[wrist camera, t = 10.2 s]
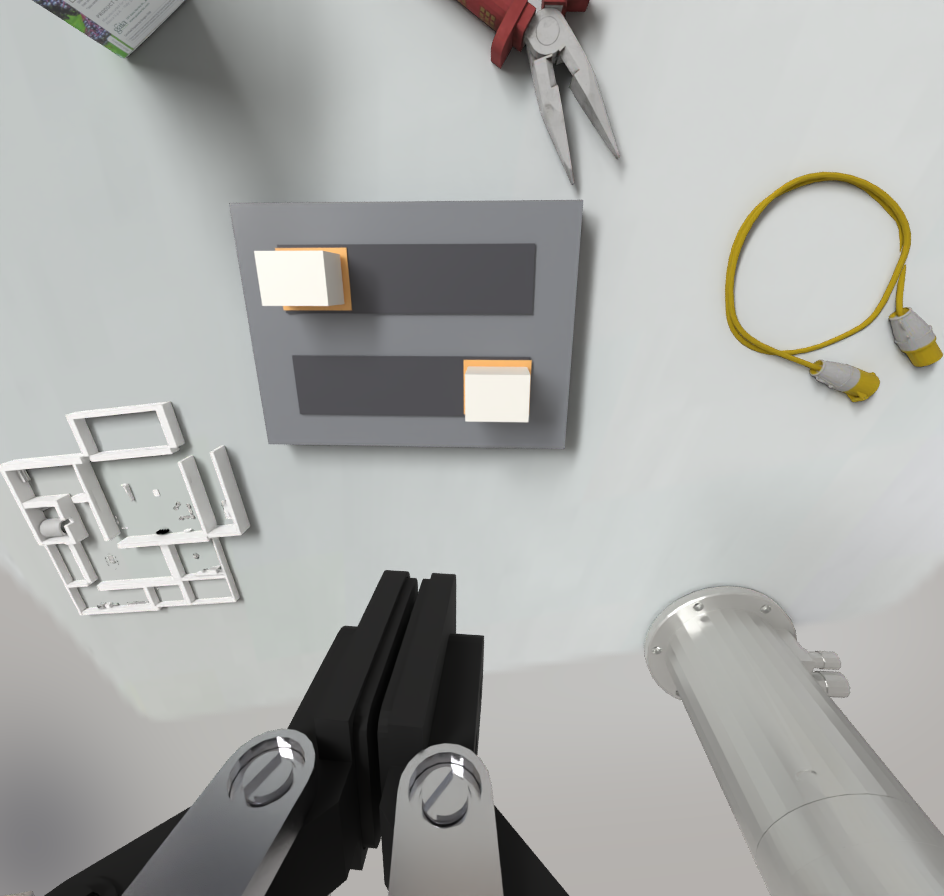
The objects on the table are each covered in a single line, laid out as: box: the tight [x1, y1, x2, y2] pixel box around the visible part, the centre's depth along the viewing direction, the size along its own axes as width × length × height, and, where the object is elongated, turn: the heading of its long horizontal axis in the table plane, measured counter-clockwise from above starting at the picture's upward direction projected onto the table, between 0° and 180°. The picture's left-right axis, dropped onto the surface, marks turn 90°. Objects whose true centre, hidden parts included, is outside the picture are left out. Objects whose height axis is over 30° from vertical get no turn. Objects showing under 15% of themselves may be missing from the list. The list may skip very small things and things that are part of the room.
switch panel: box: [229, 200, 583, 449], centre depth 31 cm, size 22×16×2 cm
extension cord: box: [725, 172, 943, 402], centre depth 29 cm, size 12×16×2 cm
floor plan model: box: [0, 402, 250, 615], centre depth 37 cm, size 19×25×2 cm
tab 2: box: [465, 366, 530, 422], centre depth 29 cm, size 4×3×3 cm
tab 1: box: [254, 251, 345, 306], centre depth 27 cm, size 4×3×3 cm
